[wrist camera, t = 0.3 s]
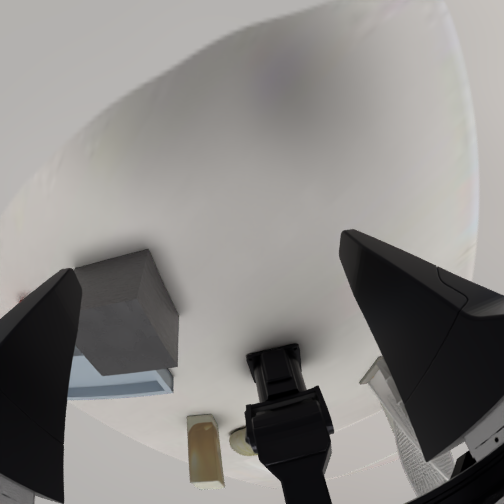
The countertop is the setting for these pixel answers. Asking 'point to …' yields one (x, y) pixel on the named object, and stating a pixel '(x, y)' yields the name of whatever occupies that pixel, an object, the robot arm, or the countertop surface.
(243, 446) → the sea urchin shell
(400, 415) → the skyscraper
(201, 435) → the skincare box
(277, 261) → the countertop surface
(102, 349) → the block
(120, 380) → the tray
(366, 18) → the countertop surface
